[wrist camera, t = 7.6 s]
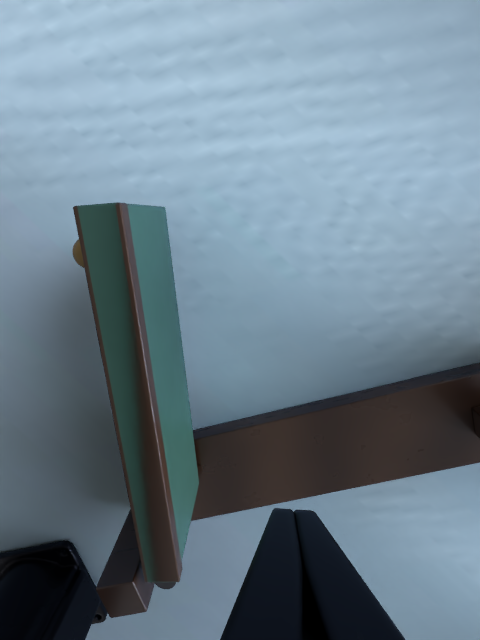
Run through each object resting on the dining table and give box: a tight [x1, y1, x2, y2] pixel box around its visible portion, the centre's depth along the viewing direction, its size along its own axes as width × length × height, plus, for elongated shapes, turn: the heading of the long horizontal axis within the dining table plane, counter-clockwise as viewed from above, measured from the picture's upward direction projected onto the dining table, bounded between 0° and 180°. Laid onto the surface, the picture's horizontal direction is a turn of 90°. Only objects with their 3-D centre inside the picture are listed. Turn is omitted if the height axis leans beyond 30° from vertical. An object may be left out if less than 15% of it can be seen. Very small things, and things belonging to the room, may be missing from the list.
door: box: [73, 203, 199, 589], centre depth 15 cm, size 15×3×5 cm, turn 4°
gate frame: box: [96, 363, 480, 618], centre depth 16 cm, size 20×5×7 cm, turn 107°
